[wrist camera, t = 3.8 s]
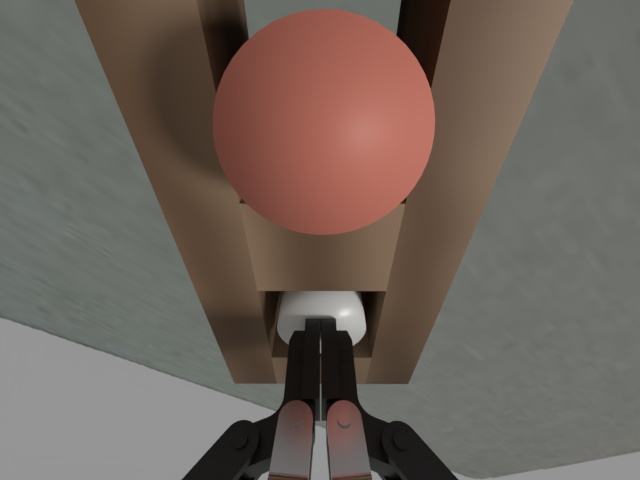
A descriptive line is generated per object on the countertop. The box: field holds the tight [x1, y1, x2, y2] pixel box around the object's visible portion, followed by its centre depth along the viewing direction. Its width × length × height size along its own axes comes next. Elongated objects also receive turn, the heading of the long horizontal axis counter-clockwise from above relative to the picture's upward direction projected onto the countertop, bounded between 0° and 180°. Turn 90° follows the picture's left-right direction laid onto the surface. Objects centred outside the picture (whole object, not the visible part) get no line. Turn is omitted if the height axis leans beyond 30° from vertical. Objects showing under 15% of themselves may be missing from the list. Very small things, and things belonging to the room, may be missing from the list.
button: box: [277, 291, 366, 353], centre depth 15 cm, size 4×4×4 cm
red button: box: [213, 9, 435, 235], centre depth 7 cm, size 4×4×4 cm
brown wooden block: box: [74, 0, 574, 384], centre depth 13 cm, size 11×22×5 cm, turn 0°
